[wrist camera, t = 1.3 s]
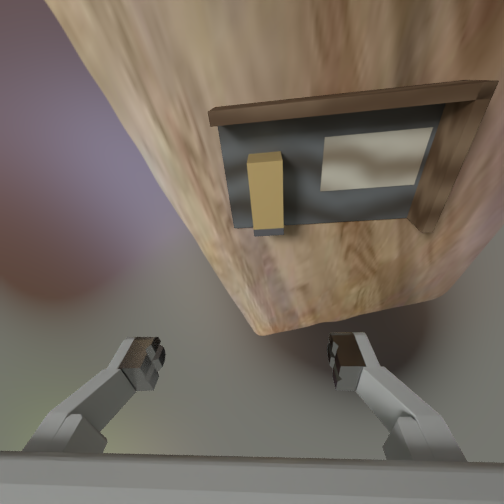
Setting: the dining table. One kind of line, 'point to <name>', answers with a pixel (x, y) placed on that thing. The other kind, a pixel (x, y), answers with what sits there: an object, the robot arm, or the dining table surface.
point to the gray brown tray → (356, 151)
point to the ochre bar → (266, 192)
